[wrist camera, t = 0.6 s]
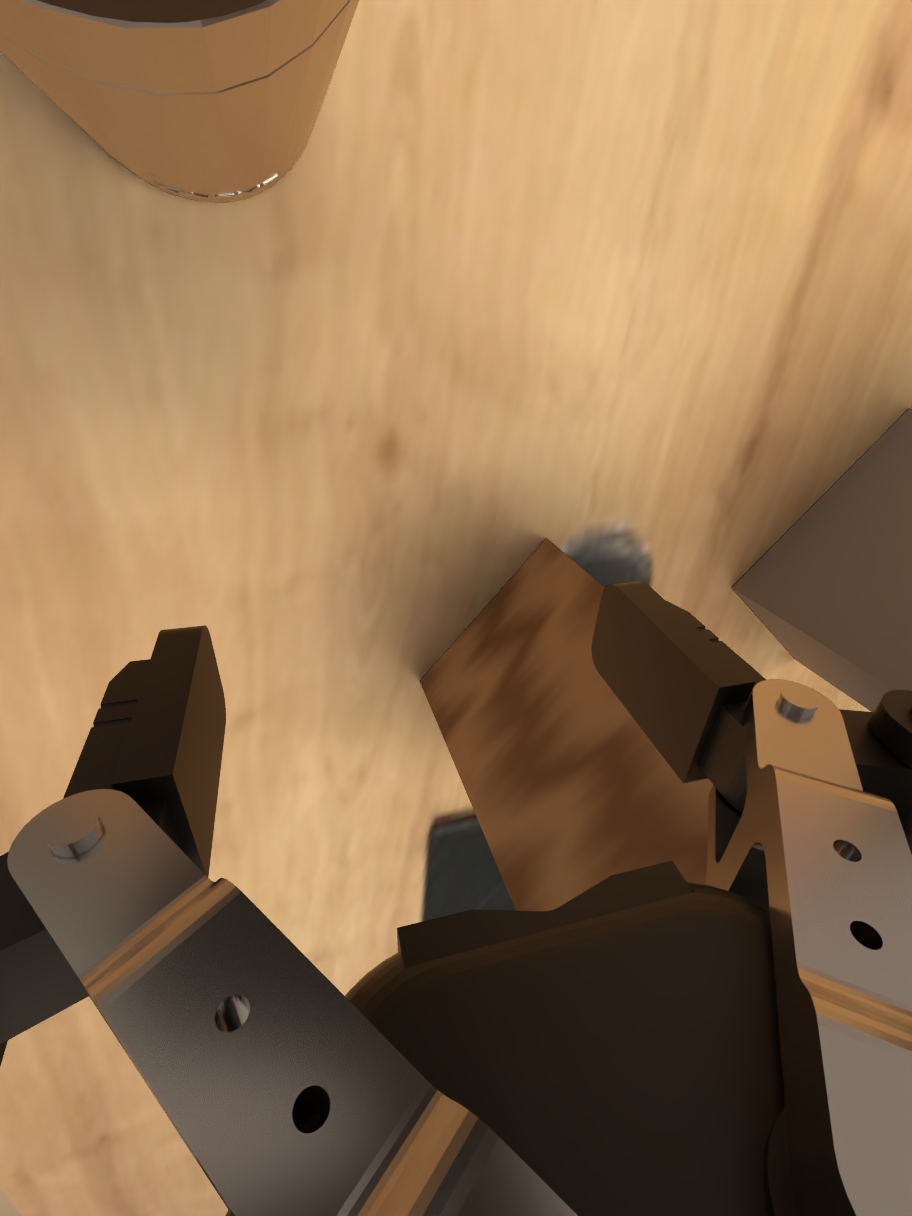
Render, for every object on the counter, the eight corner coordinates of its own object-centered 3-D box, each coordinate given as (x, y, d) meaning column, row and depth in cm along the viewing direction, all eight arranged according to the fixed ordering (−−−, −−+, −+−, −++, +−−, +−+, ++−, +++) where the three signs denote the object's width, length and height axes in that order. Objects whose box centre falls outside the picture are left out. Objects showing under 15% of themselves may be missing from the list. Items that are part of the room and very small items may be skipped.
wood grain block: (520, 736, 41) (914, 1402, 16) (419, 681, 36) (780, 1540, 11) (635, 616, 39) (1293, 1180, 14) (546, 538, 33) (1351, 1221, 9)
